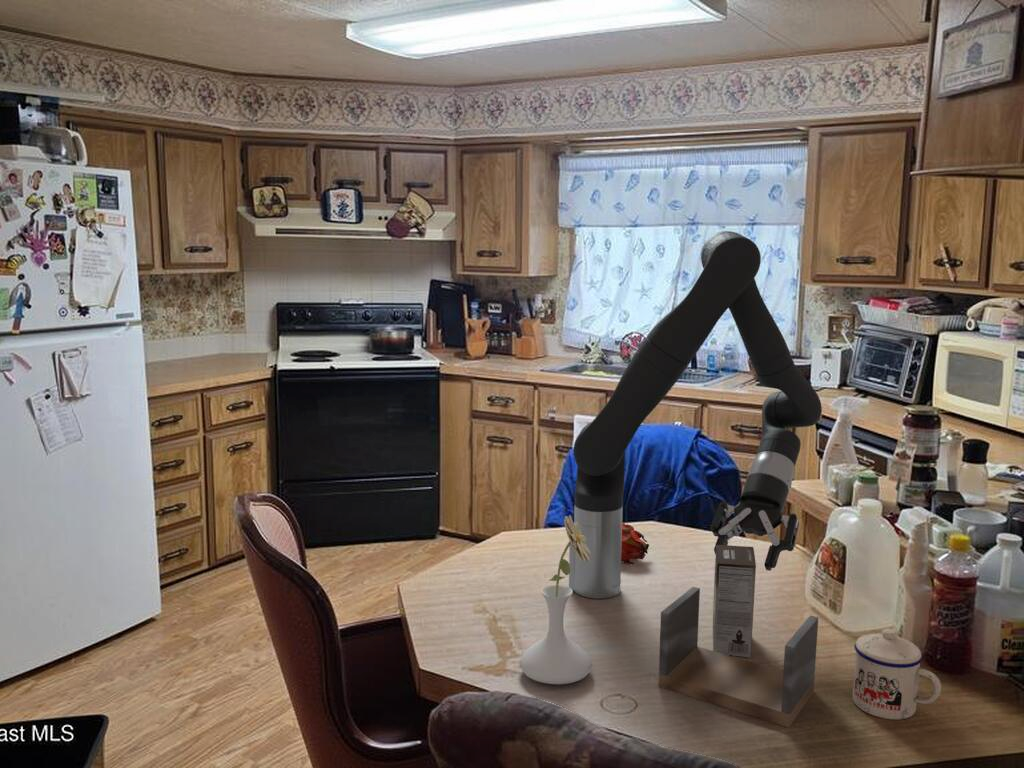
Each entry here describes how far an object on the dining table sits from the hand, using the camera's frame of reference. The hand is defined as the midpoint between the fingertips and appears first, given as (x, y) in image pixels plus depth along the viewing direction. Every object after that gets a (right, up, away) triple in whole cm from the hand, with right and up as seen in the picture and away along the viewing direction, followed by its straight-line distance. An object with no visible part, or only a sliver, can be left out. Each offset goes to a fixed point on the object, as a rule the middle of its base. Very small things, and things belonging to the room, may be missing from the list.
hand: (742, 563), depth 148 cm
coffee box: (-2, -14, -1) cm, 14 cm away
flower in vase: (-32, -15, -10) cm, 37 cm away
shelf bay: (-5, -16, -16) cm, 23 cm away
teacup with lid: (+17, -17, -21) cm, 32 cm away
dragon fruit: (-15, -7, +38) cm, 42 cm away
